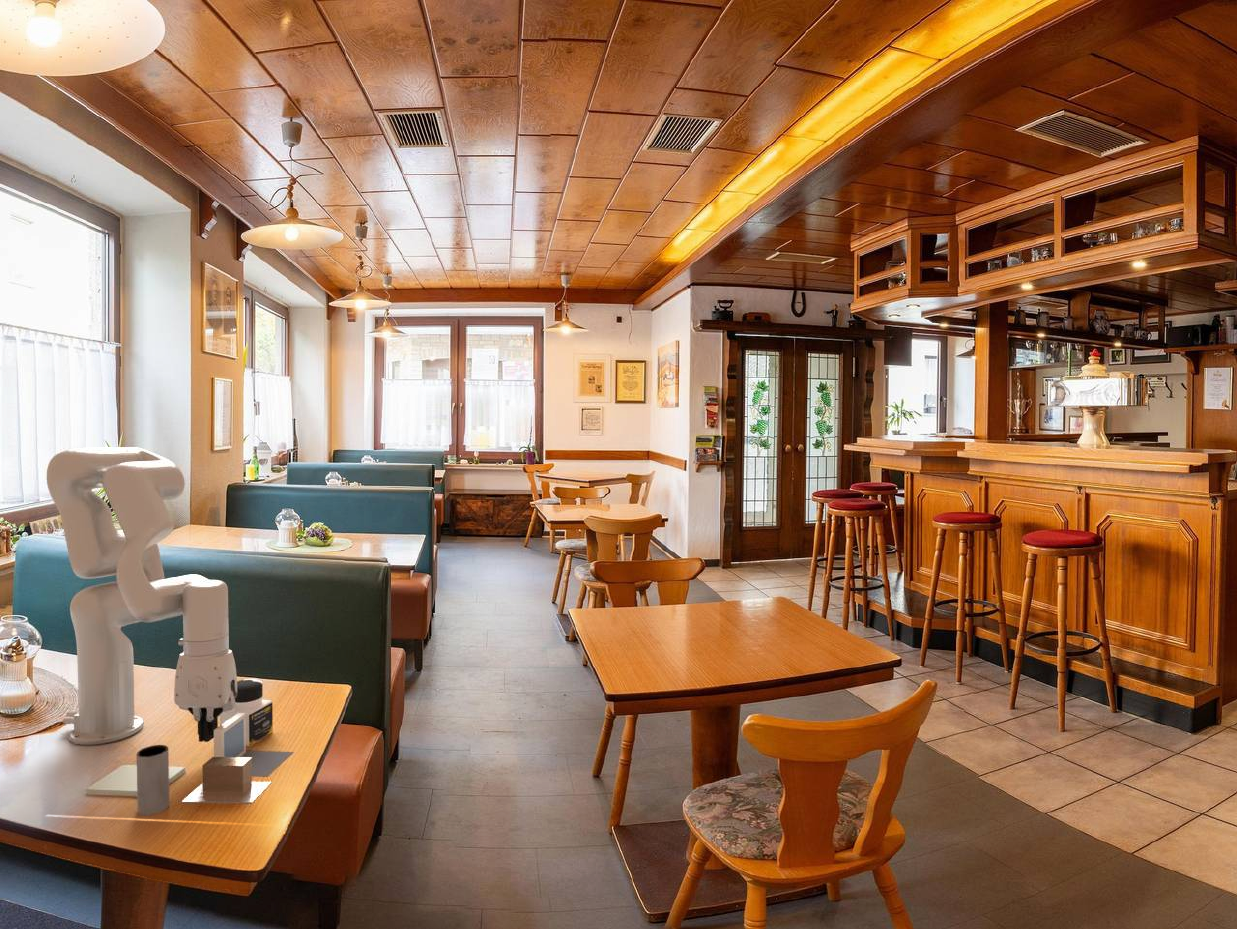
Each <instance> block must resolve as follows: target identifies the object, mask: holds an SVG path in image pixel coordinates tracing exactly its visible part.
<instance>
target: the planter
mask: <svg viewBox="0 0 1237 929" xmlns="http://www.w3.org/2000/svg"><path fill="white" fill-rule="evenodd" d="M169 761H170V758H169V747H168V746H167V745H165V744H154V745H150V746H145V747H144V748H141V749H139V750H138V752H137V753H136V765H137V796H136V798H137V806H136V807H137V813H138V814H139V815H140V816H151V815H156V814H158V813H161V812H163V811H165V810H166V809H168V807H170V784H169V767H170V765H169V763H170V762H169Z"/></svg>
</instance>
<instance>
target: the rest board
mask: <svg viewBox="0 0 1237 929" xmlns="http://www.w3.org/2000/svg"><path fill="white" fill-rule="evenodd" d="M185 773H186V767H185V766H169V785H170V784H172V783H174V781H176V780H177V779H178V778H179V777H182V775H184V774H185ZM85 795H90V796H91V795H94V796H96V795H98V796H113V797H114V796H117V797H119V796H120V797H137V764H122V765H121V766H119V767H117V768H116V769H114V770H113V771H111V772H110V773H108V774H107V775H105V776H104V777H102V778H100V779H99V780H96V781H95V783H93V784H91V785H89V786H88V787H87V788H85Z"/></svg>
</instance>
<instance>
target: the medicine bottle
mask: <svg viewBox="0 0 1237 929" xmlns="http://www.w3.org/2000/svg"><path fill="white" fill-rule="evenodd" d="M263 684H264V683H263V681H262V680H260V679H256V678H246V679H240V680H237V696H236V698H235V702H236V707H235V708H234V709H232V710H230V711H226V712H222V713H221V715H220V716H219V726H220V725H222V724H223V723H225V722H226V721H227V720H229V719H230V718H232V717H233V716H235V715H236V714H237V713H245V717H246V747H250V746H253V745H254V744H255V743H257V742H259V741H260V740H263V738H266V737H267V736H268V735H270V734H272V733H273V732H274V730H273V728H274V727H273V722H274V721H273V700H270V699H264V689H263Z"/></svg>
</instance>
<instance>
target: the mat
mask: <svg viewBox="0 0 1237 929" xmlns="http://www.w3.org/2000/svg"><path fill="white" fill-rule="evenodd" d="M294 753H295V752H294V751H280V750H279V751H278V750H277V751H275V750H255V749H254V750H252V749H251V750H250V749H248V750H247V749H246V753H245V754H243V755H242V756H241V757H252V777H259V778H260V777H261V778H268V777H269V776H270V775H271V774H272V773H273V772H274V771H276V770H277V769H278V768H279V767H280V766H281V765H282V764H283V763H284V762H285V761H287V759H288V758H289V757H291V756H292V755H293V754H294Z"/></svg>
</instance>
